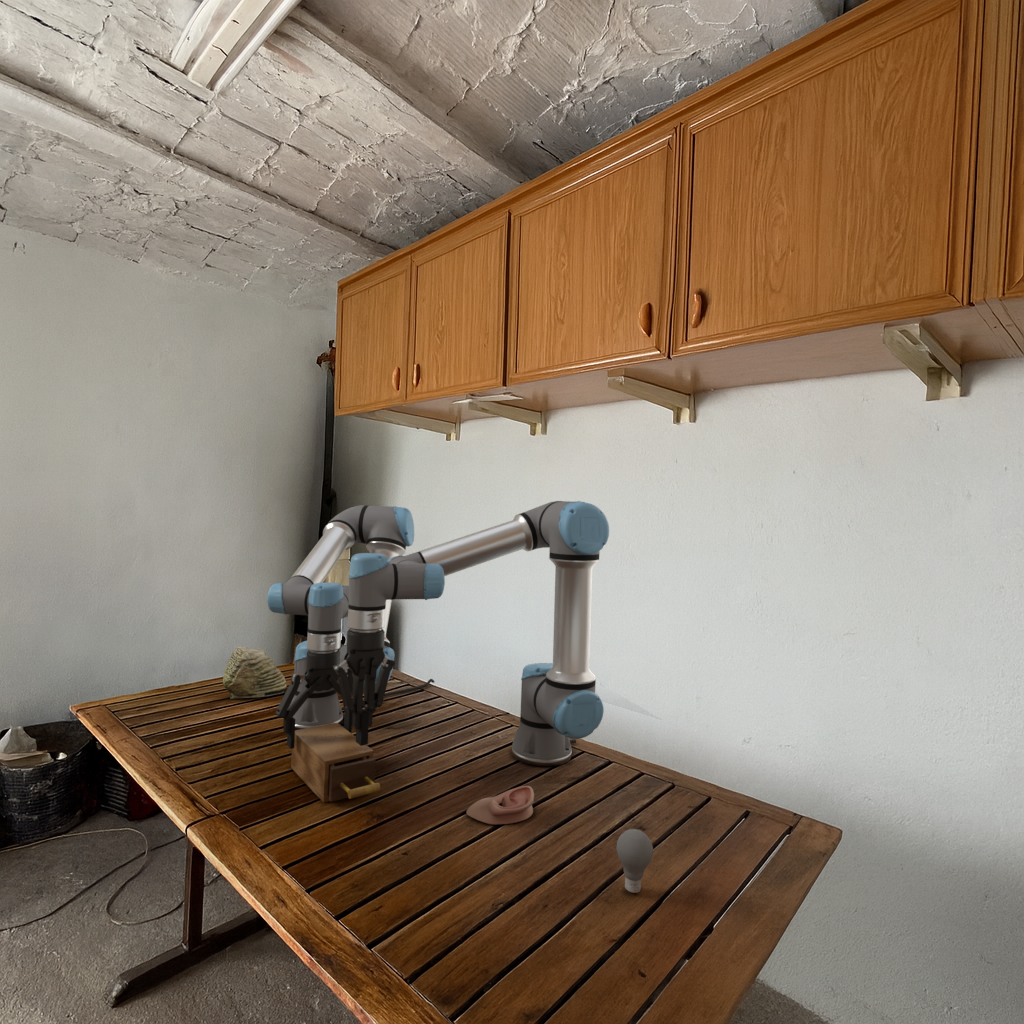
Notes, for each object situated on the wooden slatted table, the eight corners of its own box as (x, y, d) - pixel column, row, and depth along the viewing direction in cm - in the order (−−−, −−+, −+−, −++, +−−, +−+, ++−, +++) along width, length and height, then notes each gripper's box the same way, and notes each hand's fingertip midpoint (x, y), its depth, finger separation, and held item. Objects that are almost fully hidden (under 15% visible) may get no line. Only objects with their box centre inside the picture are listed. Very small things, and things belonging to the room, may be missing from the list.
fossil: (218, 695, 195) (220, 647, 195) (278, 685, 208) (279, 640, 207) (228, 703, 189) (230, 653, 188) (289, 692, 201) (290, 645, 201)
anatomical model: (462, 800, 126) (477, 776, 137) (461, 820, 126) (476, 794, 137) (528, 810, 123) (537, 784, 135) (527, 830, 123) (536, 803, 135)
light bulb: (610, 879, 108) (613, 822, 108) (644, 879, 109) (647, 822, 109) (619, 902, 102) (622, 840, 102) (655, 901, 103) (658, 840, 103)
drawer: (387, 801, 131) (388, 769, 131) (342, 814, 125) (343, 780, 125) (339, 759, 151) (340, 731, 150) (299, 768, 145) (300, 739, 144)
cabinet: (371, 789, 138) (373, 750, 138) (323, 802, 131) (325, 761, 131) (335, 757, 154) (337, 722, 154) (290, 767, 147) (292, 730, 147)
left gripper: (274, 659, 137) (269, 757, 137) (380, 647, 152) (376, 736, 152) (263, 652, 143) (259, 746, 143) (366, 641, 158) (362, 726, 158)
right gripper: (343, 635, 123) (338, 756, 123) (403, 629, 131) (398, 742, 131) (328, 628, 129) (323, 743, 129) (386, 622, 137) (382, 731, 137)
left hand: (319, 741), depth 147 cm, fingers open, 13 cm apart
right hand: (361, 742), depth 130 cm, fingers closed
